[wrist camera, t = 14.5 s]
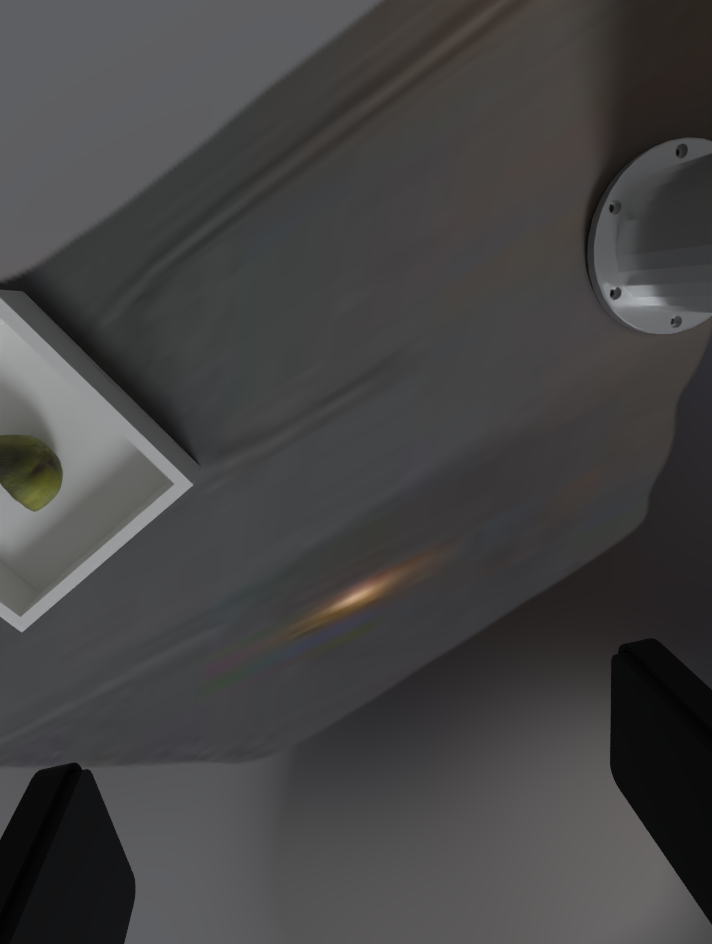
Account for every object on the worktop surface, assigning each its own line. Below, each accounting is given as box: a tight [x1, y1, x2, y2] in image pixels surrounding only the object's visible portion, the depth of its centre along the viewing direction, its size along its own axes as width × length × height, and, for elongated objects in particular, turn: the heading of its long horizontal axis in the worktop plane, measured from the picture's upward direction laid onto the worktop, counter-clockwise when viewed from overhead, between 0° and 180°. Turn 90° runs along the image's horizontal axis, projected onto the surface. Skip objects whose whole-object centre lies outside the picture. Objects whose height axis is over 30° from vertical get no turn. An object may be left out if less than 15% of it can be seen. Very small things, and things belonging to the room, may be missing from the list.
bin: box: [0, 290, 200, 632], centre depth 34 cm, size 15×15×4 cm
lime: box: [0, 435, 63, 512], centre depth 33 cm, size 4×5×5 cm
